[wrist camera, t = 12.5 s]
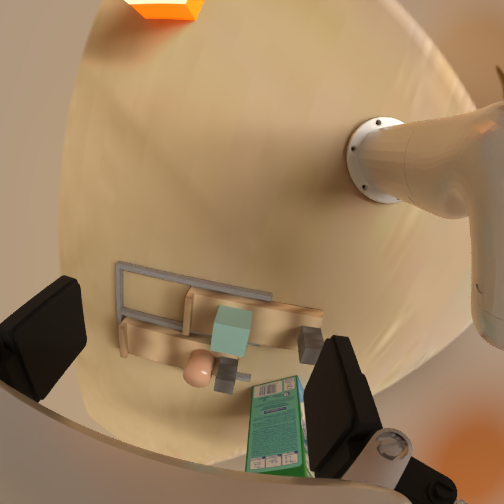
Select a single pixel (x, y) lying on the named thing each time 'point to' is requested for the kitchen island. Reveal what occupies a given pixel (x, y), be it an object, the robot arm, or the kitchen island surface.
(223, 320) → the teal cube
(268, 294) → the lane frame
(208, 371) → the rounded peach cylinder
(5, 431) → the robot arm
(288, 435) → the milk carton
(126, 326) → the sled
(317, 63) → the kitchen island surface
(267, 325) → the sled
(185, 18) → the orange juice
